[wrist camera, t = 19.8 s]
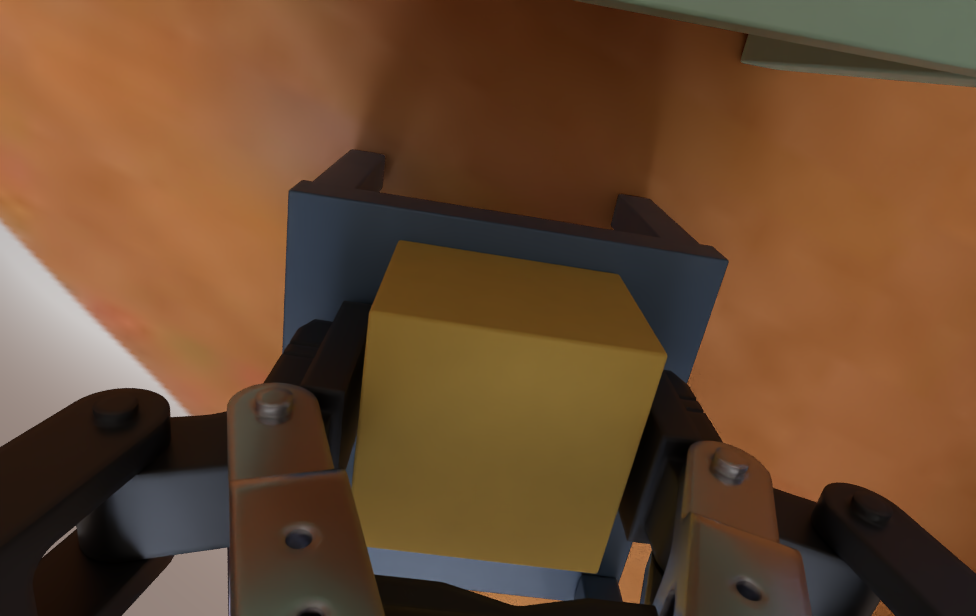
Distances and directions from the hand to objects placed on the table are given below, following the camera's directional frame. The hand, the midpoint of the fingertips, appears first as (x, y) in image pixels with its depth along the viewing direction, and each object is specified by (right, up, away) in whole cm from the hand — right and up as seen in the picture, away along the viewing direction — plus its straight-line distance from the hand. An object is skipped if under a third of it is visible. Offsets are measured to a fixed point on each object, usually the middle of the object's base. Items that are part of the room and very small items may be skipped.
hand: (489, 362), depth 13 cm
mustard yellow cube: (0, 0, 0) cm, 0 cm away
